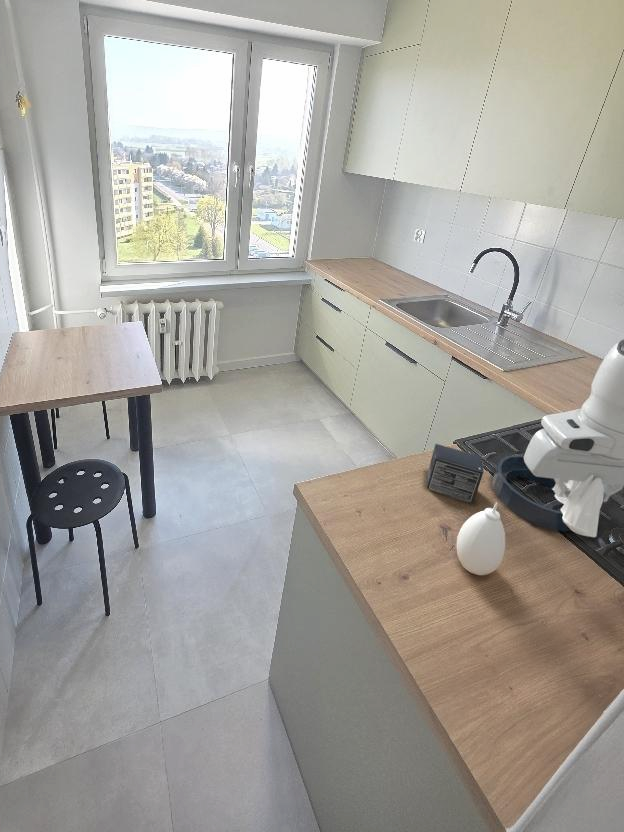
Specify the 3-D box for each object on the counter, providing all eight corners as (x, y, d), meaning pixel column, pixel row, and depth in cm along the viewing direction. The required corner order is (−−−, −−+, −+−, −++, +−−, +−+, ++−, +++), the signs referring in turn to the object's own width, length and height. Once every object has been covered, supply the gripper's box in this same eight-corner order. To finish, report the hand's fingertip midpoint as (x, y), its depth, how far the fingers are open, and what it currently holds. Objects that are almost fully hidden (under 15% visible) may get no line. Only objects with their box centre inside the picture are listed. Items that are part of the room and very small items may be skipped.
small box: (471, 487, 104) (482, 455, 100) (472, 506, 99) (485, 473, 94) (426, 473, 108) (435, 441, 104) (425, 491, 103) (435, 458, 98)
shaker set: (593, 546, 69) (619, 497, 64) (562, 536, 70) (586, 487, 66) (577, 496, 79) (599, 450, 74) (551, 487, 80) (571, 442, 76)
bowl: (553, 477, 109) (561, 459, 106) (599, 539, 92) (610, 519, 89) (479, 468, 111) (486, 450, 108) (511, 527, 94) (519, 508, 91)
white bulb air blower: (454, 579, 82) (479, 513, 75) (447, 545, 89) (469, 482, 82) (498, 591, 80) (528, 524, 73) (487, 555, 87) (513, 491, 80)
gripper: (664, 427, 69) (630, 489, 75) (532, 415, 71) (509, 476, 77) (697, 453, 63) (658, 518, 69) (553, 439, 65) (526, 503, 71)
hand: (578, 496), depth 73 cm, fingers closed on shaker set, 5 cm apart
